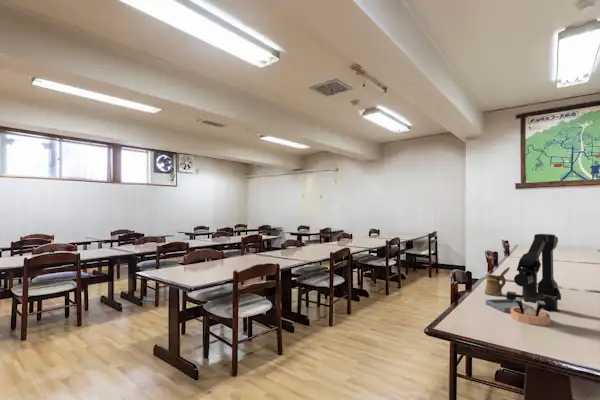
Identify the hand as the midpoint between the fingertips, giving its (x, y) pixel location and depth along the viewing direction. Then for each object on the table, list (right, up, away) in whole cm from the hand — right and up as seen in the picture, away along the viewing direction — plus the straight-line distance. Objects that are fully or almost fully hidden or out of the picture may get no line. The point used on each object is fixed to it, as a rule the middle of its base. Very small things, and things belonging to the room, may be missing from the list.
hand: (529, 316), depth 154 cm
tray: (+1, -2, +17) cm, 17 cm away
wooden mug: (+10, -3, +42) cm, 44 cm away
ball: (0, +2, 0) cm, 2 cm away
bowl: (0, -2, 0) cm, 2 cm away
